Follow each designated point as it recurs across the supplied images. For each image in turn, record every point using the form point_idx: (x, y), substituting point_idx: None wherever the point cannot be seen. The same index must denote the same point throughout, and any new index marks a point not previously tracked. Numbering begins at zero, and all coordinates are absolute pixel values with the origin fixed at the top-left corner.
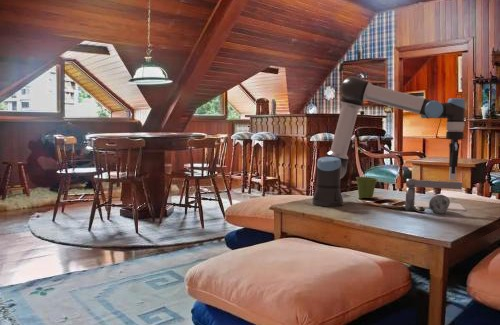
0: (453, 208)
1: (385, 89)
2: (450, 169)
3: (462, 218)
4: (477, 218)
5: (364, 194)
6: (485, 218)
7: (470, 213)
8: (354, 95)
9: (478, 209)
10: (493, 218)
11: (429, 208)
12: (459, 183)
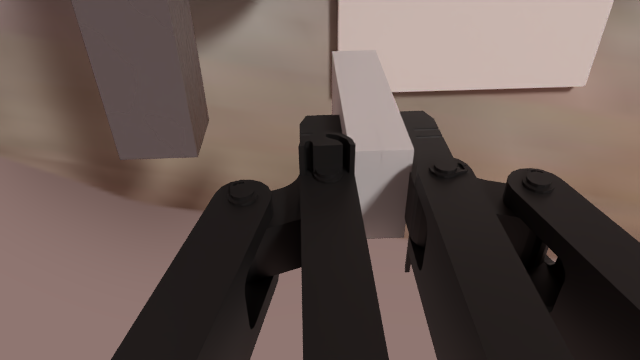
0: (346, 13)
1: None
2: (346, 130)
3: (16, 28)
4: (91, 120)
5: None
6: (125, 161)
7: (259, 106)
8: None
9: None
10: (154, 197)
11: None
12: (114, 132)
